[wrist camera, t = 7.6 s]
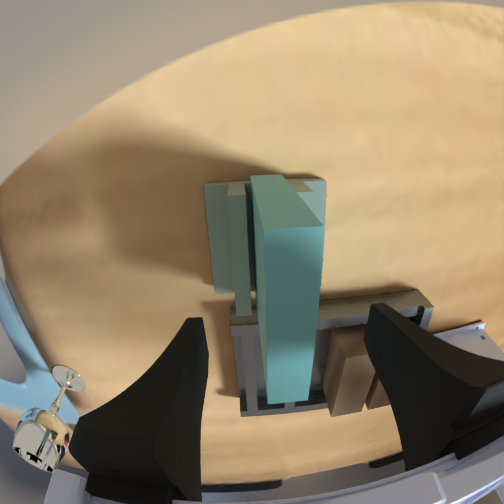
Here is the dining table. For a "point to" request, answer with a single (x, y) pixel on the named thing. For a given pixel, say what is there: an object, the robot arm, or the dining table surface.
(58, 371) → the wineglass
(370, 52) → the dining table surface
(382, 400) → the offcut
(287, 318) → the teal flat block
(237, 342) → the rack
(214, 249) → the stand
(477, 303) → the dining table surface
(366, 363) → the offcut
